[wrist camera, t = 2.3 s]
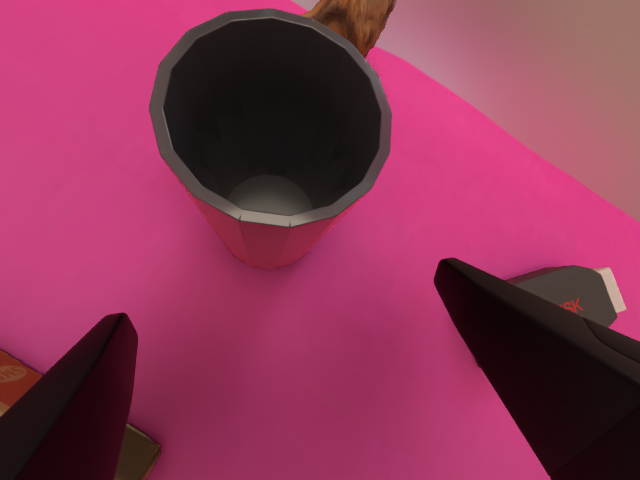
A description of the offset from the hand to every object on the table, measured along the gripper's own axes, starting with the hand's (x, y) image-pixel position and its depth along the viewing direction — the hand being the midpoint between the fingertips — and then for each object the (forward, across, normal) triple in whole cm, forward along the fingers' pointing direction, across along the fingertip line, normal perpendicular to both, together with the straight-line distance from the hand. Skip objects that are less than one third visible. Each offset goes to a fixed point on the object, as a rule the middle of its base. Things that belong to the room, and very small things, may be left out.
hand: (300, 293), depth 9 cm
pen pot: (+12, 0, +4) cm, 13 cm away
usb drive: (+5, -19, +11) cm, 23 cm away
